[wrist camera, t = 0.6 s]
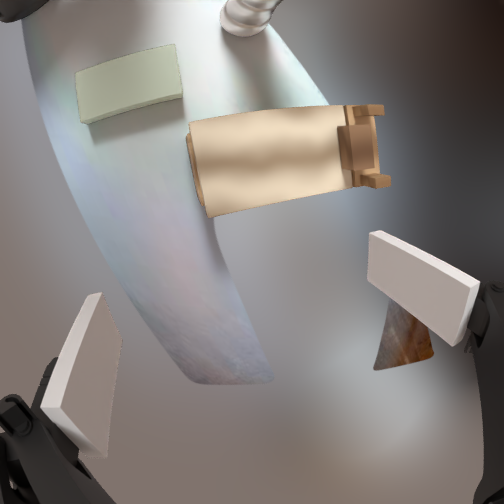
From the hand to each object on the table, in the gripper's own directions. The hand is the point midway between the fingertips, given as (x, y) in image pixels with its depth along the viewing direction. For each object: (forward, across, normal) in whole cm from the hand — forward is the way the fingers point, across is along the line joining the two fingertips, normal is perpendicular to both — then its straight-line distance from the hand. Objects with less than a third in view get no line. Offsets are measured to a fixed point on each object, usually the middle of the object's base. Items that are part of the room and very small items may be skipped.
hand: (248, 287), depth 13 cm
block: (+17, +17, +5) cm, 24 cm away
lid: (+19, +8, +4) cm, 21 cm away
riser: (+26, -7, +17) cm, 32 cm away
